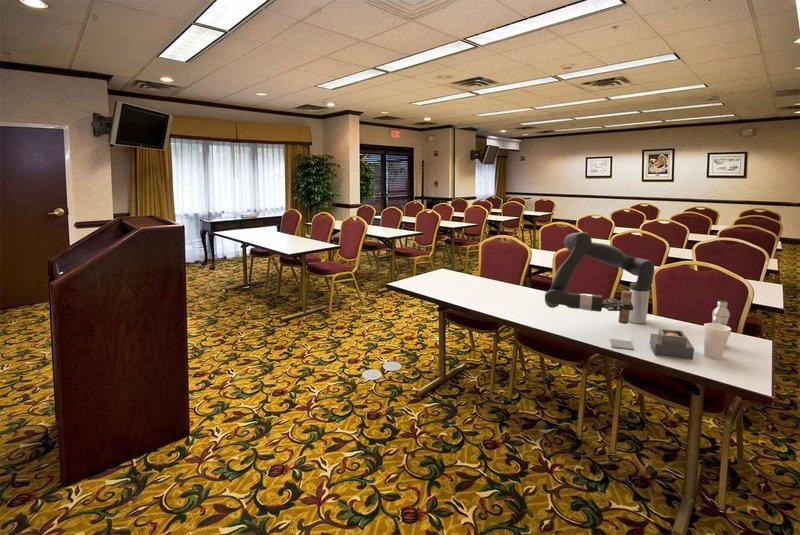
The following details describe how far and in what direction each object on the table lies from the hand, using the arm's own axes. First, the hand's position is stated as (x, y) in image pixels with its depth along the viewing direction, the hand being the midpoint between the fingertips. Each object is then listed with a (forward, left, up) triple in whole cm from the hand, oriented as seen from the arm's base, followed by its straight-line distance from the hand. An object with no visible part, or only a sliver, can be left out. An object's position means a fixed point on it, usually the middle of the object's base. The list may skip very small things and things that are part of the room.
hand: (632, 306), depth 197 cm
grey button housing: (+1, +16, -18) cm, 25 cm away
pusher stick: (0, -3, -8) cm, 8 cm away
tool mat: (0, -3, -18) cm, 19 cm away
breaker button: (+1, +16, -13) cm, 21 cm away
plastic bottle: (-16, +37, -19) cm, 45 cm away
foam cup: (0, +32, -19) cm, 37 cm away
